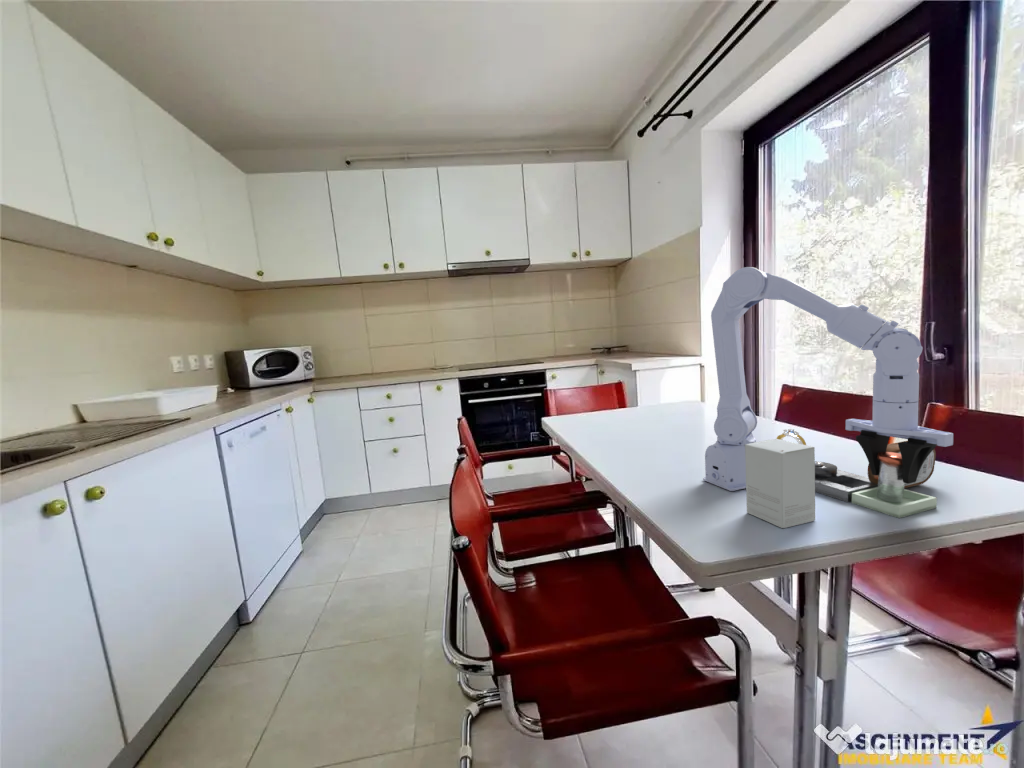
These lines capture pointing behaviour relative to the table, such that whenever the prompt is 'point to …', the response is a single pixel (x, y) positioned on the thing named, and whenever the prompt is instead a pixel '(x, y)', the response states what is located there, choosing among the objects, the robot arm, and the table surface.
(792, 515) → the supplement box
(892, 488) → the jar with copper lid
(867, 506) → the tray
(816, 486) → the tensioner block
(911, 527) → the table surface
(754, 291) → the robot arm
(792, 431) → the ring
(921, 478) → the tin
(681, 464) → the table surface
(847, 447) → the table surface
